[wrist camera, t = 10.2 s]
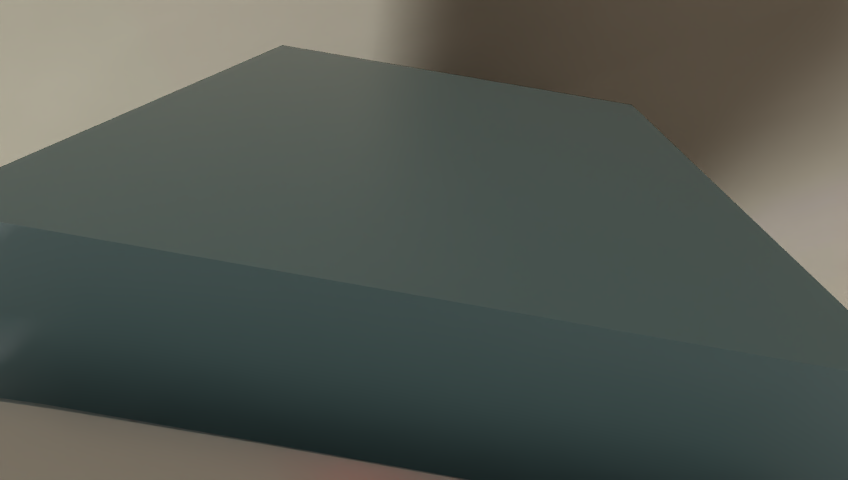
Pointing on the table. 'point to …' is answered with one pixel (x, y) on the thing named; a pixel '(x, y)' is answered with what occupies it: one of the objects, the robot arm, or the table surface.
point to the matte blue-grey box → (417, 282)
